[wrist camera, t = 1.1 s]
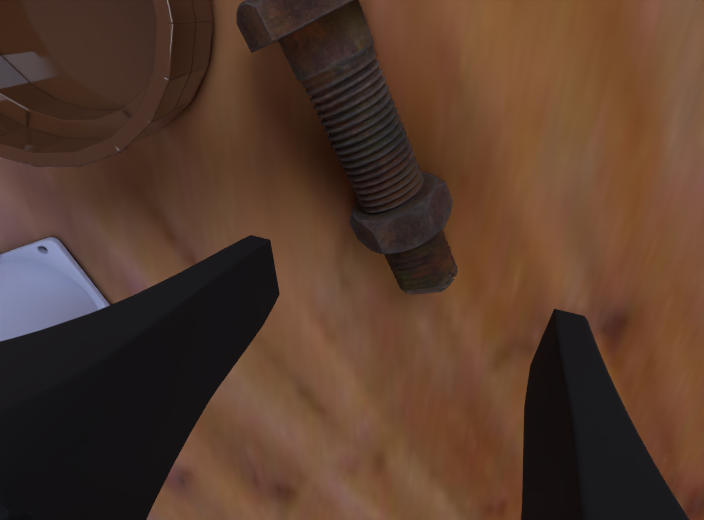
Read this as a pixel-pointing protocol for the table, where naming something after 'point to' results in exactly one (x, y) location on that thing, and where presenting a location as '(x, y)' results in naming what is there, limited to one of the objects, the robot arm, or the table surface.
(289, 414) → the table surface
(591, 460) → the robot arm
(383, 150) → the bolt
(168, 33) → the bowl
